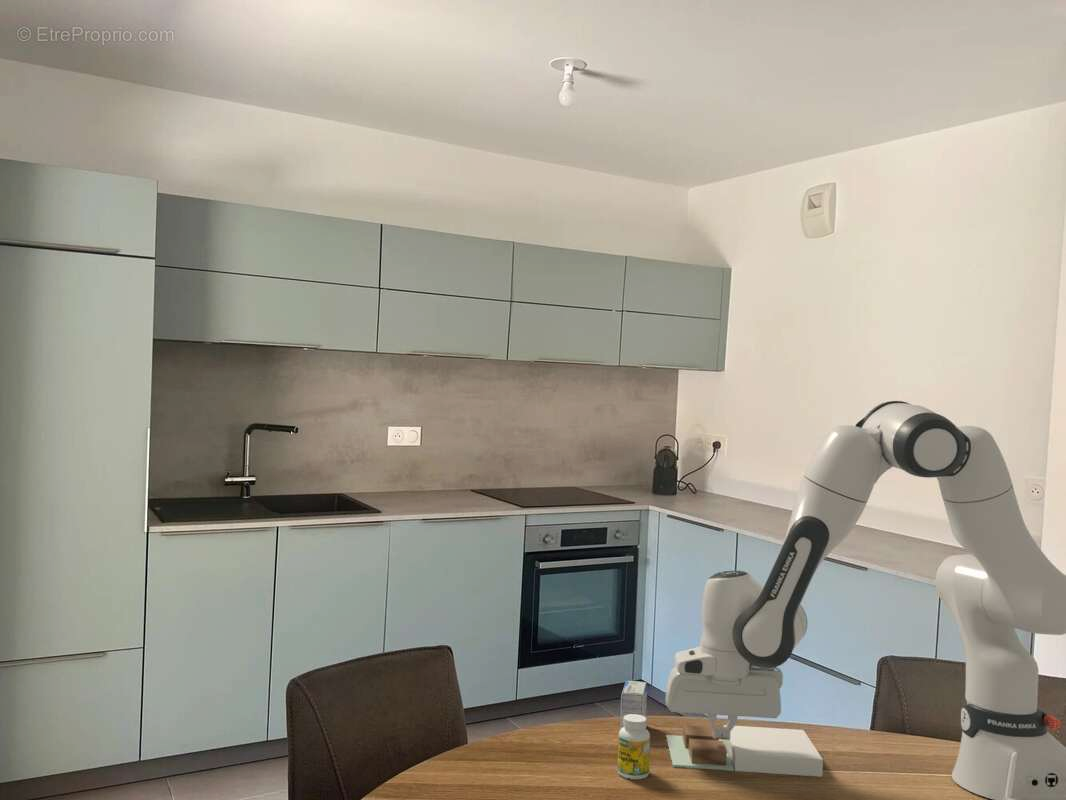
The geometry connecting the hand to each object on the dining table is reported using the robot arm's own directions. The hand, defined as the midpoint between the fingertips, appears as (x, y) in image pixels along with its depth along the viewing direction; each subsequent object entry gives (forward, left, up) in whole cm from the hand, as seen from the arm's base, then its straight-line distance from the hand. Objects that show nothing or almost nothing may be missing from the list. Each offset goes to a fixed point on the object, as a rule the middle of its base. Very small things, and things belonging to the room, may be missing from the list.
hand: (721, 738), depth 159 cm
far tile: (+3, -7, -4) cm, 8 cm away
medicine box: (+15, -12, -4) cm, 20 cm away
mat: (+3, -3, -4) cm, 6 cm away
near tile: (+2, 0, -4) cm, 4 cm away
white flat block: (-10, -3, -4) cm, 11 cm away
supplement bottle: (+16, +8, -4) cm, 18 cm away
